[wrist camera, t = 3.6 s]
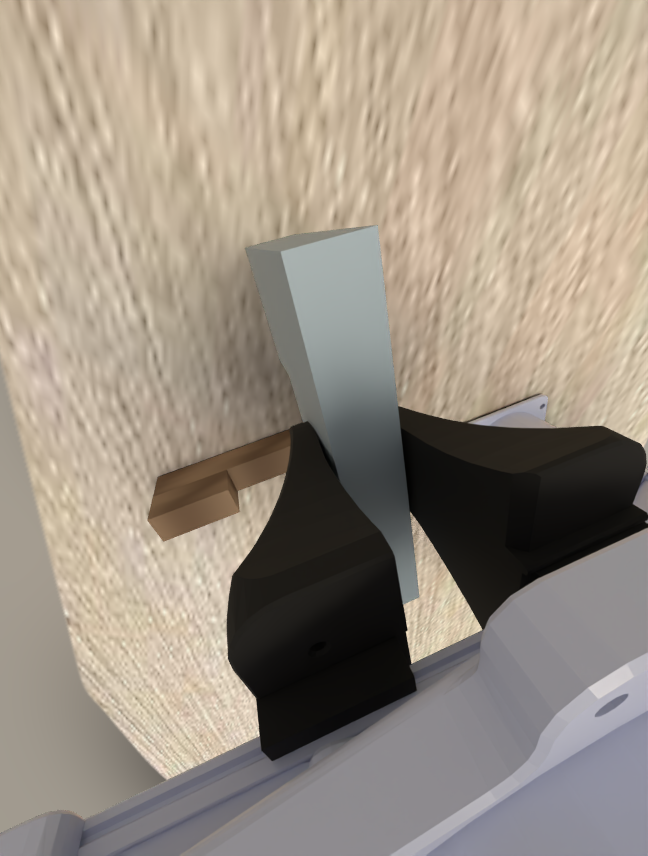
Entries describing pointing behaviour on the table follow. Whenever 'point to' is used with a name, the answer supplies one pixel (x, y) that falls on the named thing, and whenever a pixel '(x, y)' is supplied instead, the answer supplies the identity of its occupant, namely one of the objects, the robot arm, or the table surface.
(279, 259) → the pale blue prism block
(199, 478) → the walnut rail
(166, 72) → the table surface
